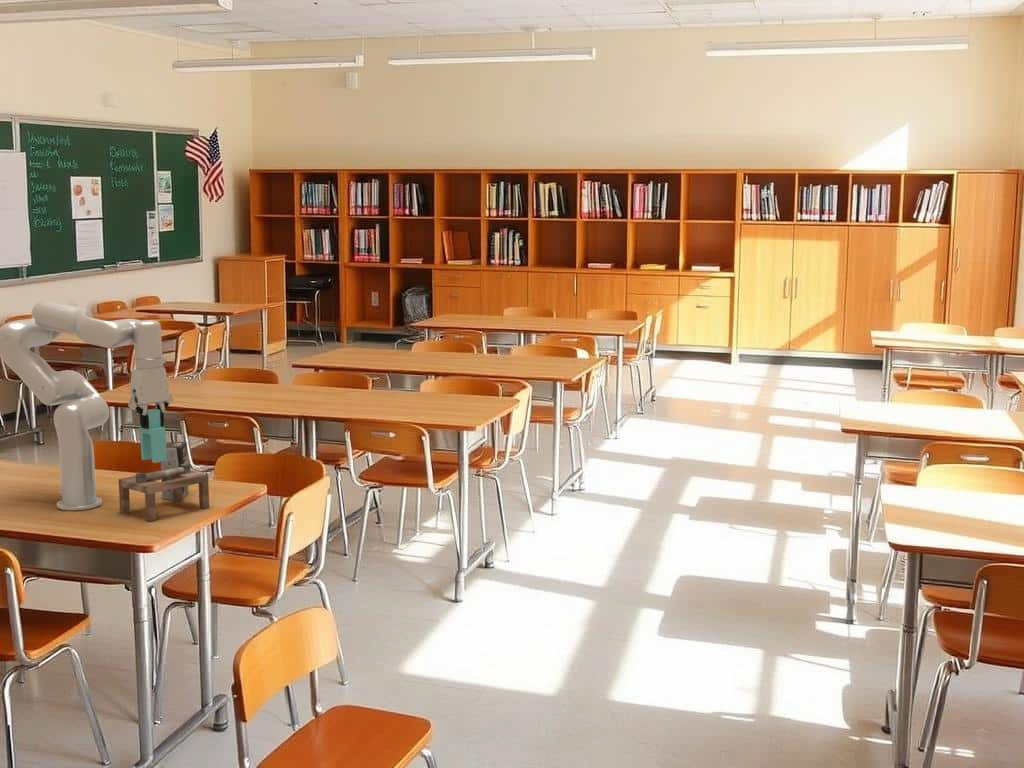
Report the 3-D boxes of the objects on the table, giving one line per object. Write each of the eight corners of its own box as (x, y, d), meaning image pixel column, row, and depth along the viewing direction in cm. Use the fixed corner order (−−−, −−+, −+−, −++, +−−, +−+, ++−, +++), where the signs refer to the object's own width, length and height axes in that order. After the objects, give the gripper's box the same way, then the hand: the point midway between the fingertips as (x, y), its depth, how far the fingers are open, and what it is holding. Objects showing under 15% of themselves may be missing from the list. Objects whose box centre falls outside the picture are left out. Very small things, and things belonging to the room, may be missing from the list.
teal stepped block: (141, 459, 328) (138, 409, 326) (153, 457, 331) (151, 407, 329) (154, 462, 324) (151, 412, 321) (166, 460, 327) (164, 410, 324)
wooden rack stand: (120, 512, 329) (118, 471, 327) (178, 499, 345) (177, 459, 343) (150, 521, 320) (148, 479, 318) (209, 507, 335) (207, 466, 334)
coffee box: (183, 499, 345) (181, 447, 342) (161, 499, 344) (159, 447, 342) (189, 492, 354) (187, 441, 351) (168, 492, 353) (166, 441, 351)
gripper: (167, 359, 332) (170, 421, 335) (115, 365, 319) (118, 429, 322) (182, 362, 327) (185, 424, 330) (129, 368, 314) (133, 433, 317)
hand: (152, 426), depth 326 cm, fingers closed on teal stepped block, 4 cm apart
